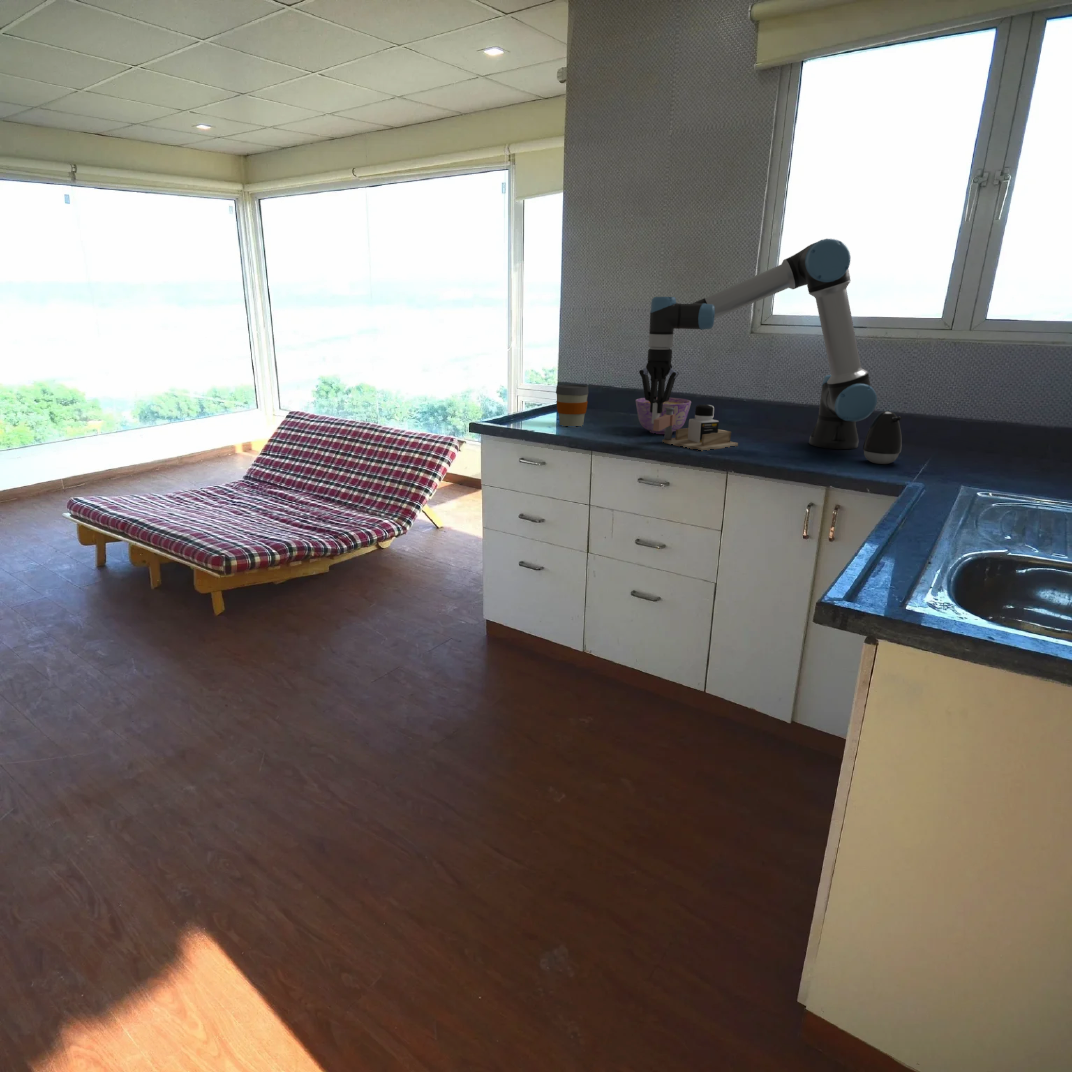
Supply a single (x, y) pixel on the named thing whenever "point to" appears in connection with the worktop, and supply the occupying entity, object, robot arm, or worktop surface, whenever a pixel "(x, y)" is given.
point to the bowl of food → (679, 407)
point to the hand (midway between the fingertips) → (655, 423)
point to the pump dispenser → (883, 439)
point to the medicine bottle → (702, 423)
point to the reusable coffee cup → (571, 404)
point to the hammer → (665, 423)
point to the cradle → (708, 440)
